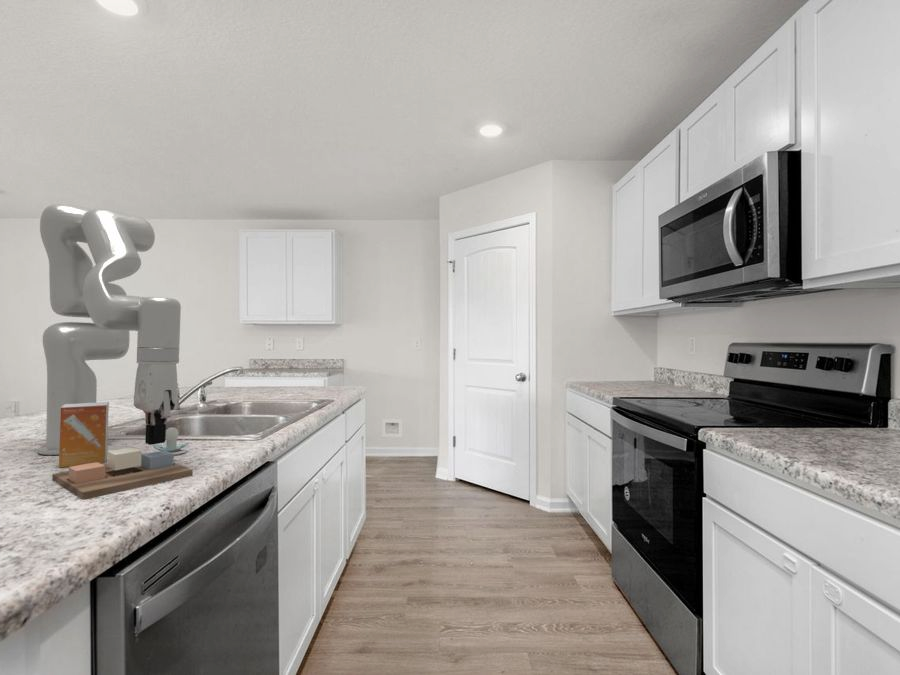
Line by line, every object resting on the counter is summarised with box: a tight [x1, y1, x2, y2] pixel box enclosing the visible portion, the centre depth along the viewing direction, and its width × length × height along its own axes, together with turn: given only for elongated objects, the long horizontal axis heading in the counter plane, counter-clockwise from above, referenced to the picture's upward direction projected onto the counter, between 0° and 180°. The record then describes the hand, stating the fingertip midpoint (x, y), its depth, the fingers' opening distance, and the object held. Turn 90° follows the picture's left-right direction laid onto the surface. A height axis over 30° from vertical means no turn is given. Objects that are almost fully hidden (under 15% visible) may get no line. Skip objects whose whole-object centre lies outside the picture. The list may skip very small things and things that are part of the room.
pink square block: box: [68, 462, 106, 484], centre depth 86 cm, size 4×4×3 cm
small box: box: [58, 401, 110, 468], centre depth 102 cm, size 8×6×13 cm
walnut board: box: [51, 462, 194, 500], centre depth 91 cm, size 18×18×1 cm
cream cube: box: [106, 447, 142, 470], centre depth 91 cm, size 4×4×3 cm
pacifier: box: [153, 426, 190, 456], centre depth 110 cm, size 7×6×6 cm
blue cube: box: [141, 450, 175, 470], centre depth 96 cm, size 4×4×3 cm
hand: (155, 442), depth 96 cm, fingers closed
